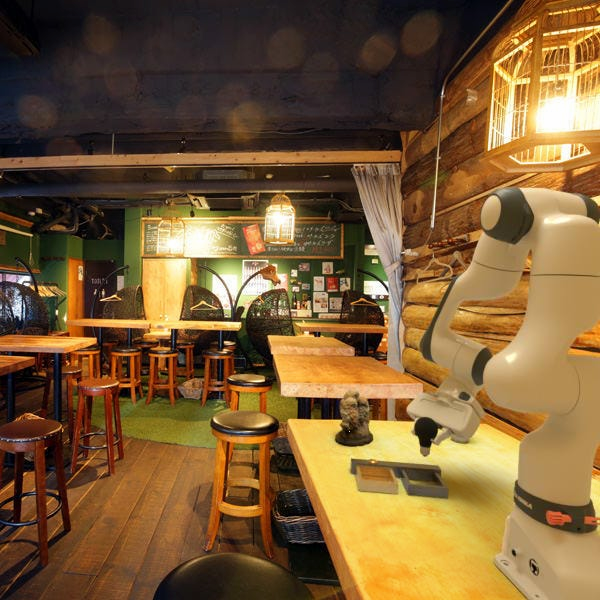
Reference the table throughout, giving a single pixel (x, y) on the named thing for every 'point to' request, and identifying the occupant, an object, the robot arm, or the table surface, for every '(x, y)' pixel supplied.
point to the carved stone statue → (354, 420)
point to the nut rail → (377, 473)
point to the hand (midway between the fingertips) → (423, 438)
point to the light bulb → (425, 433)
